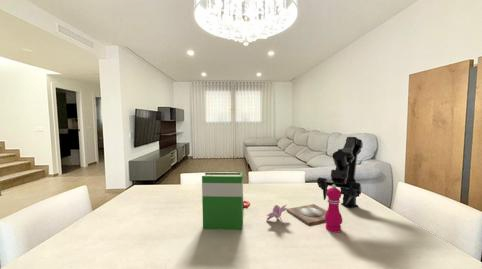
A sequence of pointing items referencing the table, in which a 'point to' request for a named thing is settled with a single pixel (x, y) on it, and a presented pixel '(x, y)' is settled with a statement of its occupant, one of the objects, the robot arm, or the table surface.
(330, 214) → the pepper mill
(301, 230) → the table surface
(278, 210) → the lily
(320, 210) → the brown flat square slab
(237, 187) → the hardback book
